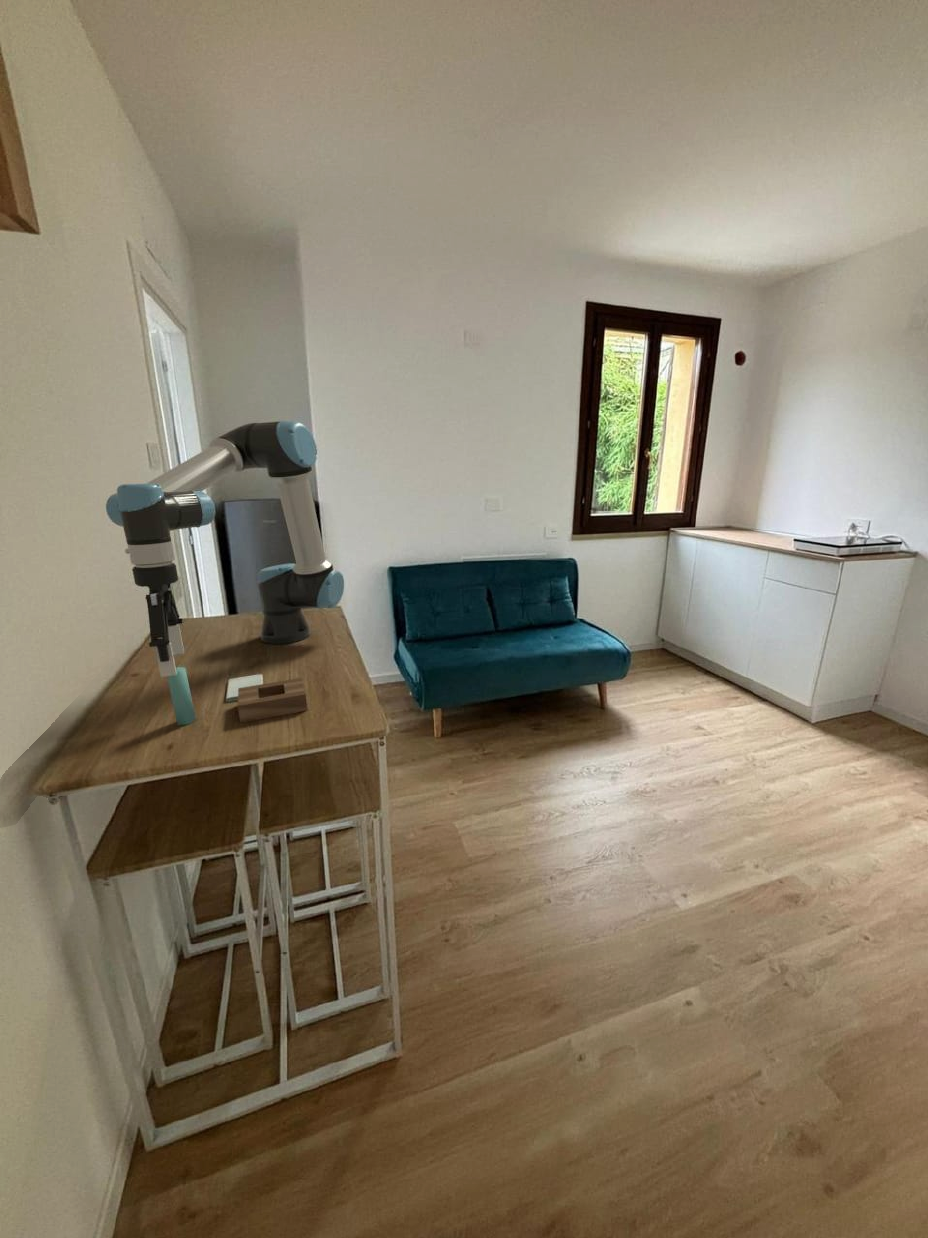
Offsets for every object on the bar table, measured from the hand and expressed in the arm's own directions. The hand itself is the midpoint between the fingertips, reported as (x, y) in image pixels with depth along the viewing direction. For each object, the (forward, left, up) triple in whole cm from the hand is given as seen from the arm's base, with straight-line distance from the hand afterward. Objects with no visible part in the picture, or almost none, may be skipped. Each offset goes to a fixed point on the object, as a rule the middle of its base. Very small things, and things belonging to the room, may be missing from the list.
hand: (173, 664), depth 107 cm
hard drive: (-13, +12, -14) cm, 23 cm away
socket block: (+1, +18, -14) cm, 23 cm away
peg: (0, 0, -14) cm, 14 cm away
